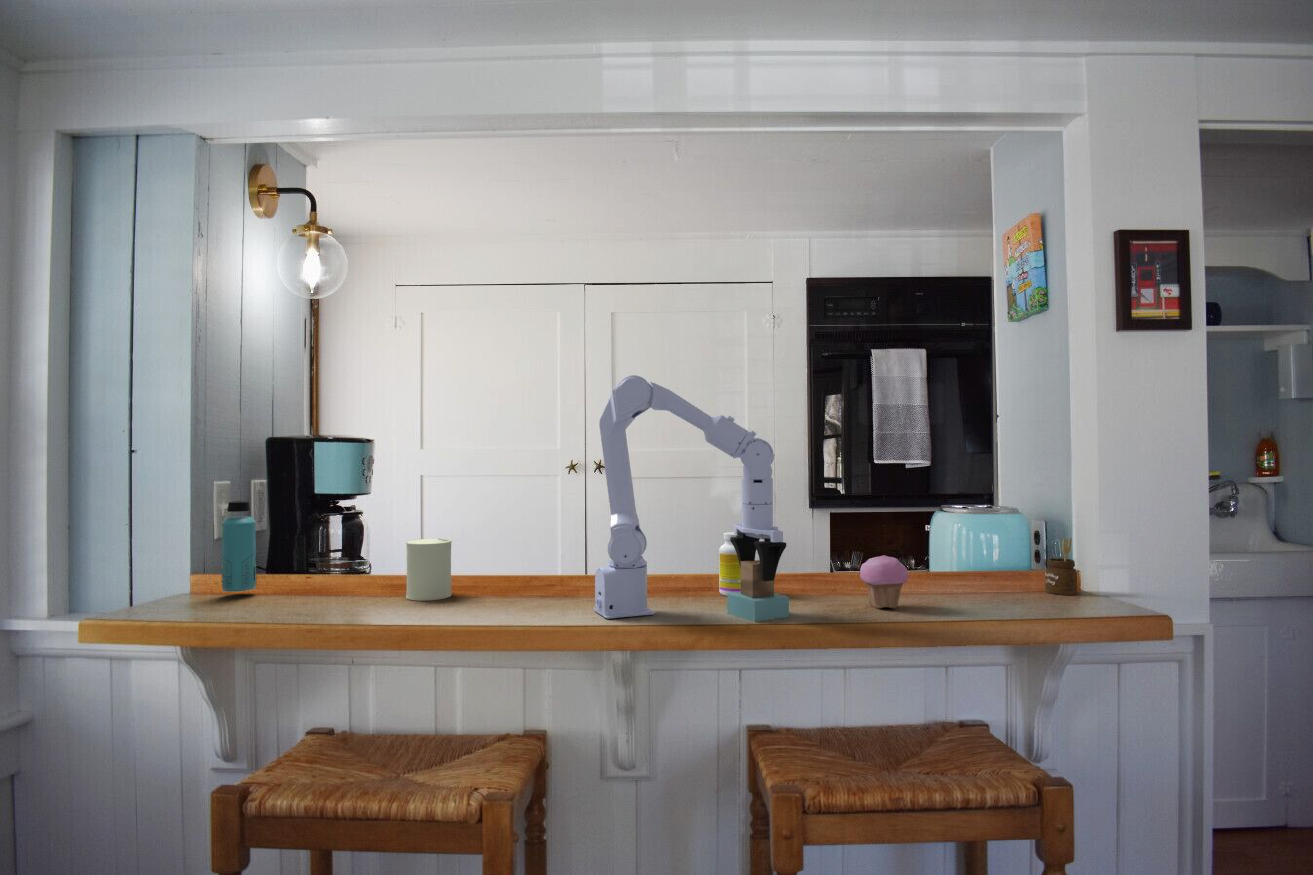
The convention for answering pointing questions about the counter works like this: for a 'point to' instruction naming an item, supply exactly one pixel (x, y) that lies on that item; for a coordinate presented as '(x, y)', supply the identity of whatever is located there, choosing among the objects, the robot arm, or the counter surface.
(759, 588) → the walnut block
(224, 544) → the beverage bottle
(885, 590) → the cupcake
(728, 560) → the supplement bottle
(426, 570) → the can
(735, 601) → the teal base box
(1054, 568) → the utensil holder
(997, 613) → the counter surface
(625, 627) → the counter surface
